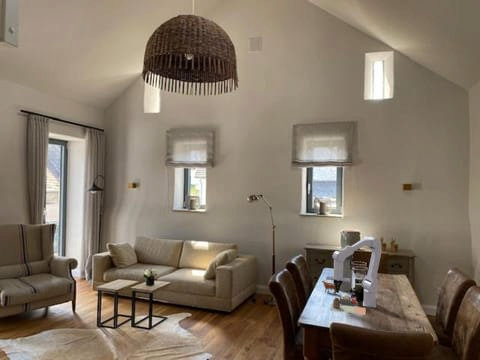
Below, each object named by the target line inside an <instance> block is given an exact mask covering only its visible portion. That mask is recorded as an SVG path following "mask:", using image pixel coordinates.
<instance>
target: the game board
mask: <svg viewBox="0 0 480 360" xmlns="http://www.w3.org/2000/svg"><path fill="white" fill-rule="evenodd" d="M329 311H332V312H341V313H346V314H354V315H361V316H366V313H367V312H366V311H367V310H366V307H360V306H359V307H358V306H353V305H345V304H340V308H339V309H336V308H333V303H332V304H331V307H330V309H329Z"/></svg>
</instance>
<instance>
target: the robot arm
mask: <svg viewBox="0 0 480 360" xmlns="http://www.w3.org/2000/svg"><path fill="white" fill-rule="evenodd" d="M364 247H368V248H369V250H370V251H371V257H370V260H369V266H368V271H367V275H366V276H364V278H363V280H362V282H361V287H362V288H363V301H362V306H363V307H368V308H377V301H376V298H377V296H376V293H377V291H378V290H379V281H378V279H377V276H378V271H379V266H380V260H381V257H382V256H381V255H382V241H381V240H380V239H379V238H378V237H374V236H370V235H365V236H364V237H362V239H360V240H359V241H357V242H356V243H354V244H352V245H345V247H344V248H342V249H341V248H340V249H339V250H335V251H334V252H333V253H332V257H331V258H332V259H333V275H332V276H331V275H326V277H325V281H328V280H329V281H333V284H334V285H335V287H336V294H337V293H338V294H339V293H340V290H339V289H340V286H341V284H342V282H343V281H344V282H350V279H348V278H343V261H344V260H345V258H346V257H348V256H350V255H352V254H354V252H355V251H357V250H359V249H362V248H364Z"/></svg>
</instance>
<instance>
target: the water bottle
mask: <svg viewBox="0 0 480 360" xmlns="http://www.w3.org/2000/svg"><path fill="white" fill-rule="evenodd" d="M353 254H354V253H353ZM353 254H352V255H350V256H348V257H346V258H345V260H344V261H343V278H348V279H350V282H344V281H343V282H342V284H341V286H340V289H339V291H341V292H346V291H348V292H351V291H352V290H353V270H352V269H354V266H353V264H354V263H355V262H354V261H353V259H354V255H353ZM351 263H352V264H351ZM351 265H352V266H351ZM354 265H355V264H354ZM351 289H352V290H351ZM350 290H351V291H350Z"/></svg>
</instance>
